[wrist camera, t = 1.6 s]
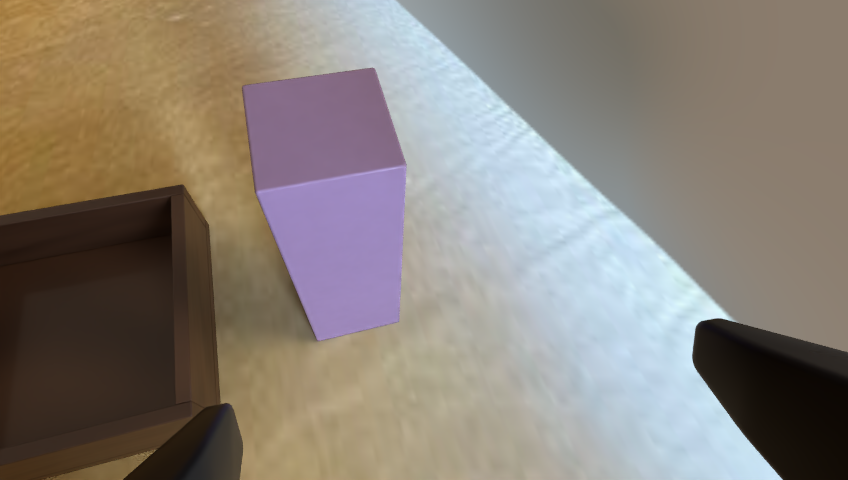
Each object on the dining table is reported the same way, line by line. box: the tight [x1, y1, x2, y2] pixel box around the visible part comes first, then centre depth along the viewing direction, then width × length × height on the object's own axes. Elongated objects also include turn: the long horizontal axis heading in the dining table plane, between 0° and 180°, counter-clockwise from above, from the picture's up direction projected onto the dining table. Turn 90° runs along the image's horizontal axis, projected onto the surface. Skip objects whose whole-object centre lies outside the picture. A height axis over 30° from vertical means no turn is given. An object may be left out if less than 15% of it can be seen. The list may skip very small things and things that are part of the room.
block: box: [242, 68, 406, 341], centre depth 19 cm, size 4×4×13 cm
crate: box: [0, 185, 220, 480], centre depth 21 cm, size 11×11×4 cm
